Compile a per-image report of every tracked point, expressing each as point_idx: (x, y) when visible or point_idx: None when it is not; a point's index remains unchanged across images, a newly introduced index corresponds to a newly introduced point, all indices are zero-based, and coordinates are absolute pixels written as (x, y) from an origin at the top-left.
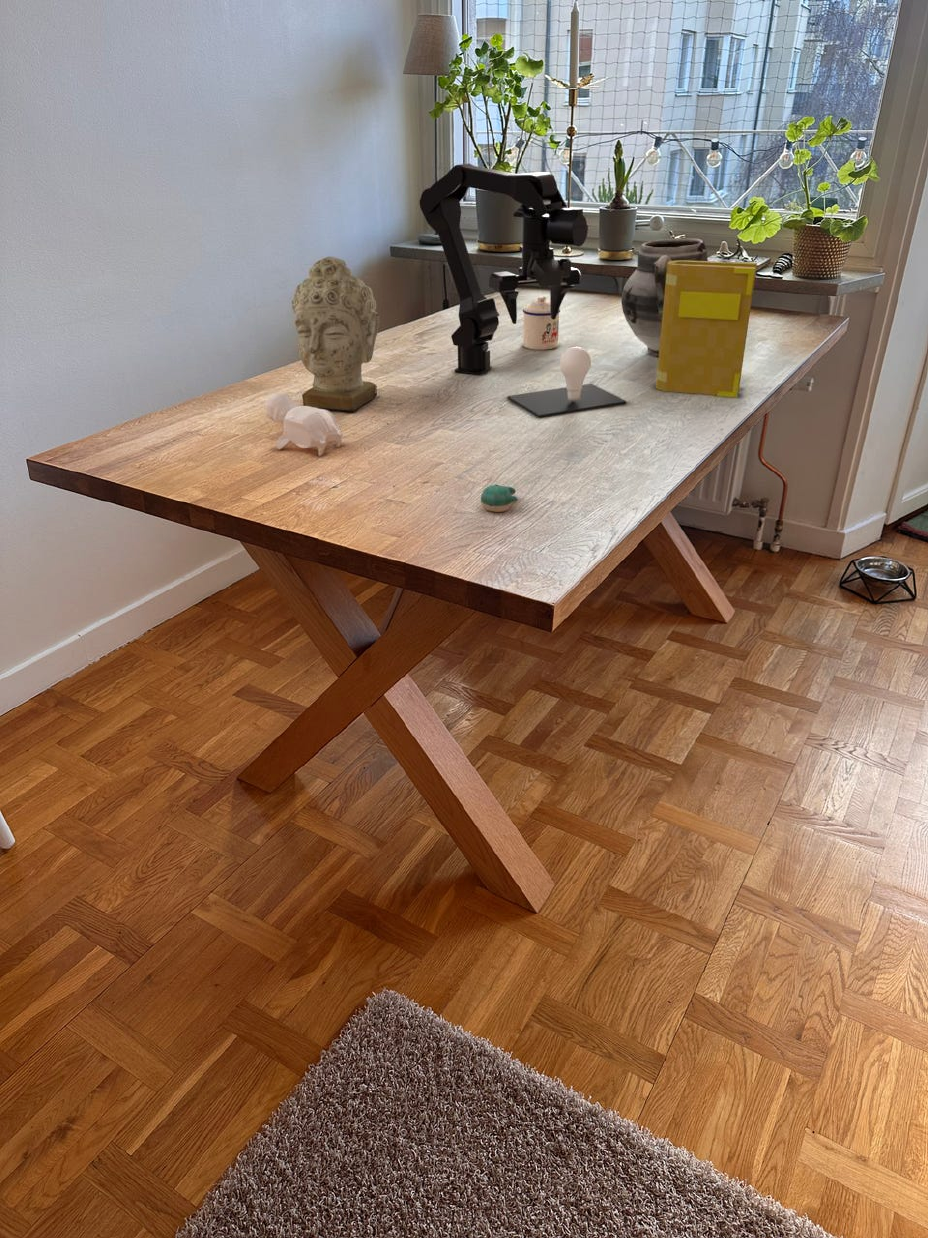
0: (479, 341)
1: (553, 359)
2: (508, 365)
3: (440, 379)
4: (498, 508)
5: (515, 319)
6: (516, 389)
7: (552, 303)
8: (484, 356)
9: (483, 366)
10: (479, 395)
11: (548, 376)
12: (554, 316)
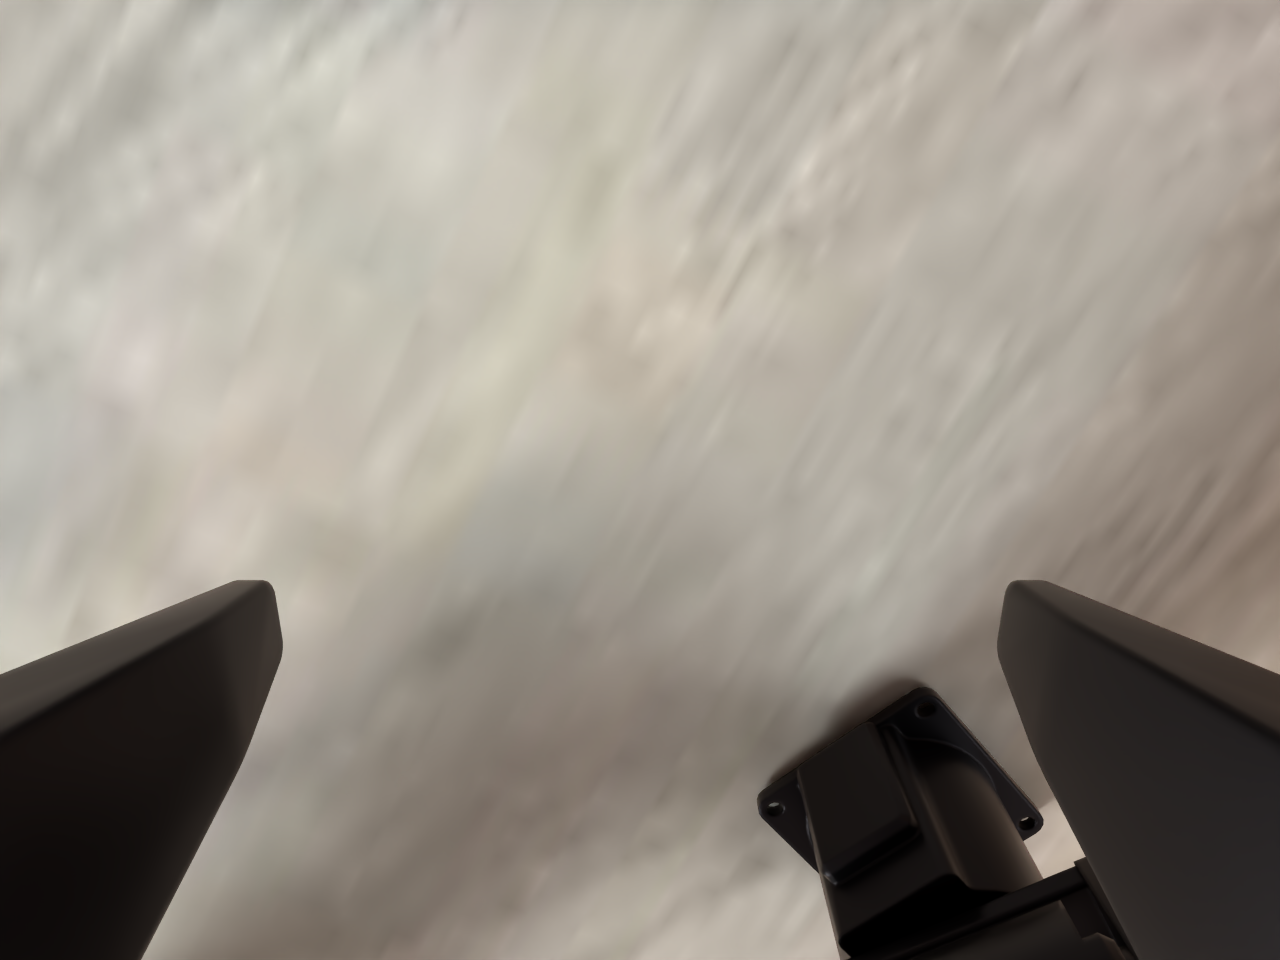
0: (954, 935)
1: (227, 808)
2: (606, 807)
3: None
4: None
5: (1068, 598)
6: (873, 210)
7: (145, 834)
8: (903, 792)
9: (885, 744)
10: (1245, 191)
11: (445, 437)
12: (239, 588)
